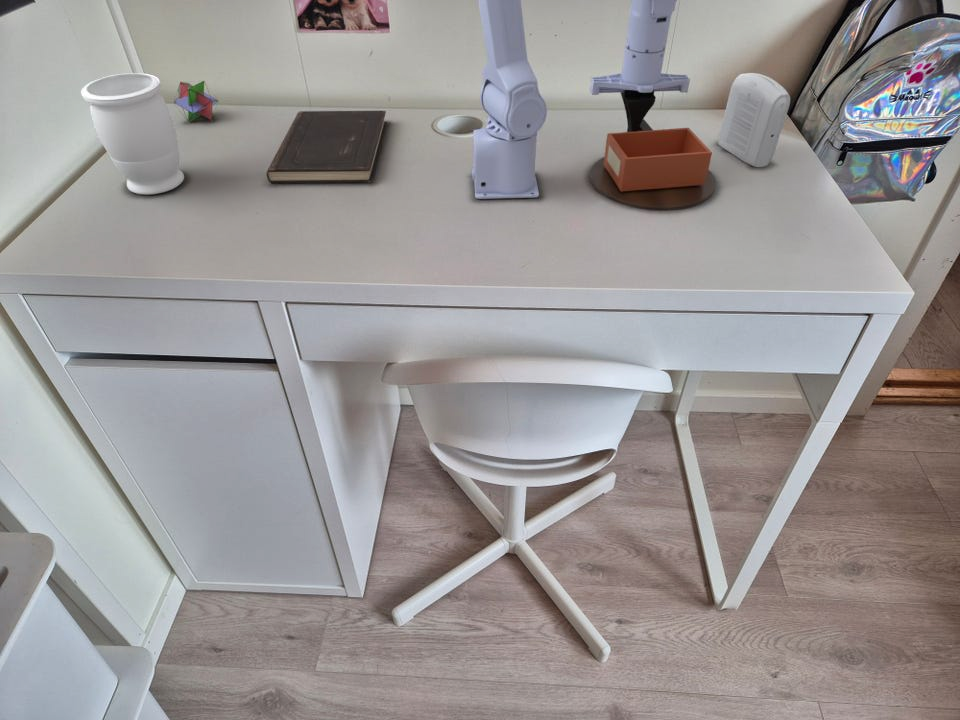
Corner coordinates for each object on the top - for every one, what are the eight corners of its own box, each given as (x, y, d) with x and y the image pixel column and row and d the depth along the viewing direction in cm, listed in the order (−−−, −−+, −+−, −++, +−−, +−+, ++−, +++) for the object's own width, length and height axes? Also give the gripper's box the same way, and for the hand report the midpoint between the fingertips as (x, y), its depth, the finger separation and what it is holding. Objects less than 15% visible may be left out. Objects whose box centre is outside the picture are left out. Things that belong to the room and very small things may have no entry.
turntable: (601, 212, 94) (601, 208, 94) (581, 154, 108) (581, 150, 108) (732, 209, 94) (733, 205, 94) (695, 151, 108) (696, 148, 108)
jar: (204, 182, 102) (173, 83, 92) (140, 206, 96) (99, 104, 86) (170, 161, 107) (137, 66, 97) (108, 183, 102) (67, 85, 92)
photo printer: (775, 165, 105) (800, 86, 96) (753, 170, 103) (777, 90, 95) (733, 140, 112) (753, 64, 103) (712, 144, 110) (731, 68, 102)
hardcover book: (387, 123, 118) (385, 110, 117) (371, 183, 101) (369, 169, 100) (298, 123, 118) (296, 111, 117) (268, 183, 101) (265, 169, 100)
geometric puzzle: (233, 104, 120) (202, 64, 117) (208, 118, 115) (175, 77, 112) (214, 123, 124) (184, 85, 121) (190, 137, 120) (157, 98, 117)
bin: (620, 191, 97) (625, 159, 93) (595, 152, 106) (598, 122, 103) (704, 184, 98) (712, 152, 95) (672, 147, 108) (678, 116, 104)
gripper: (600, 57, 91) (590, 150, 100) (703, 54, 92) (683, 147, 101) (591, 41, 96) (582, 131, 105) (688, 39, 97) (670, 128, 106)
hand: (631, 138), depth 103 cm, fingers closed
